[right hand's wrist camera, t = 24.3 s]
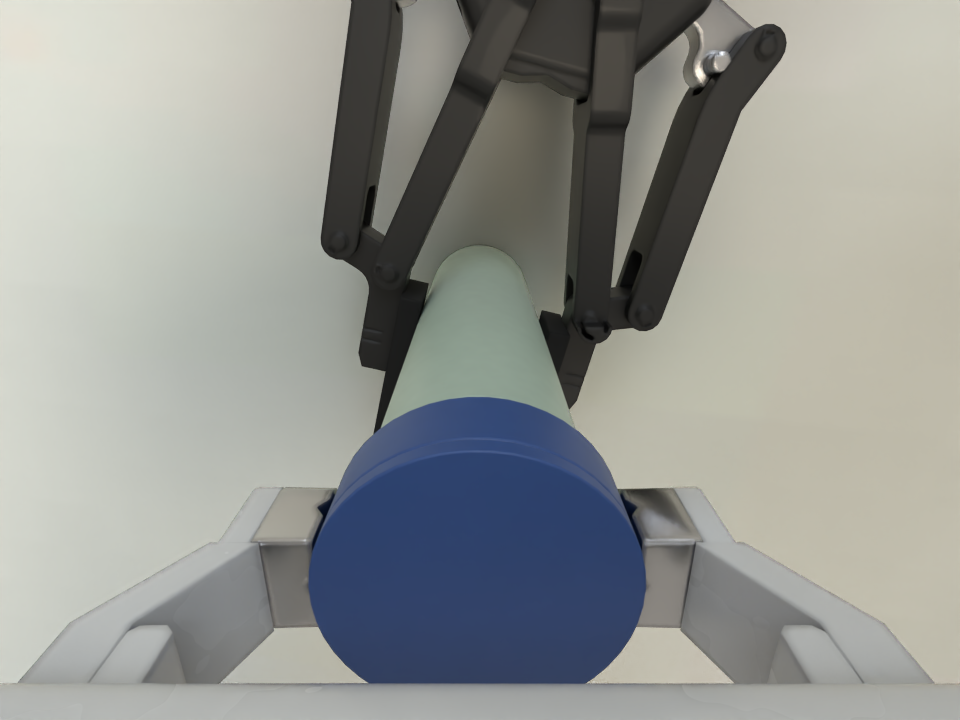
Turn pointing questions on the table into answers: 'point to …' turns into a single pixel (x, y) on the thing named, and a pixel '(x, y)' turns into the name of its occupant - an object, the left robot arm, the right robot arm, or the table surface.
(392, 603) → the lid
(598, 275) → the left robot arm
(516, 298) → the pale green cylinder
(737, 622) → the right robot arm
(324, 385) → the table surface
